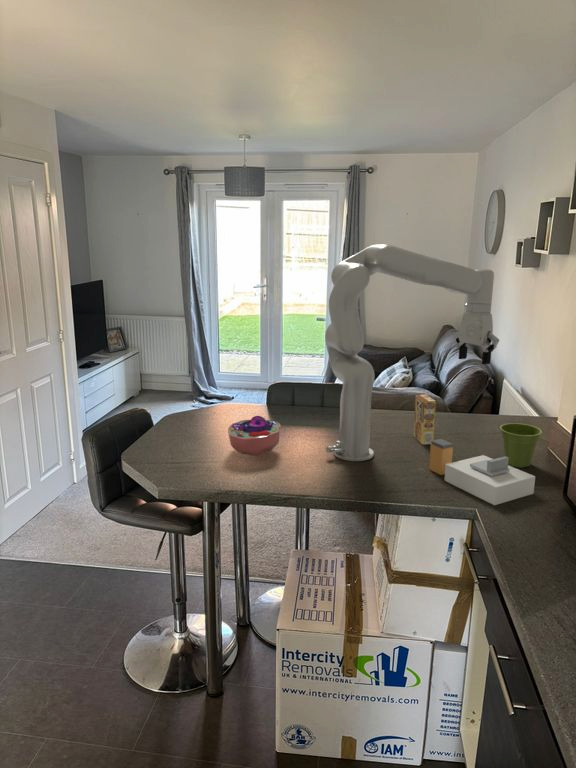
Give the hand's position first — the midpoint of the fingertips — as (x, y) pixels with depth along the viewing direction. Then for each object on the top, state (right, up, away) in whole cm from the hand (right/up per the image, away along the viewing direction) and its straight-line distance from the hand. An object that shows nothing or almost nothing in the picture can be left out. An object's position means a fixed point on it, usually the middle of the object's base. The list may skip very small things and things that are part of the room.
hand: (473, 361), depth 184 cm
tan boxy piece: (-15, -33, -16) cm, 40 cm away
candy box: (-14, -27, +10) cm, 32 cm away
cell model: (-71, -30, -1) cm, 77 cm away
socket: (-5, -36, -27) cm, 45 cm away
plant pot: (+10, -32, -10) cm, 35 cm away
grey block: (-5, -31, -28) cm, 42 cm away
